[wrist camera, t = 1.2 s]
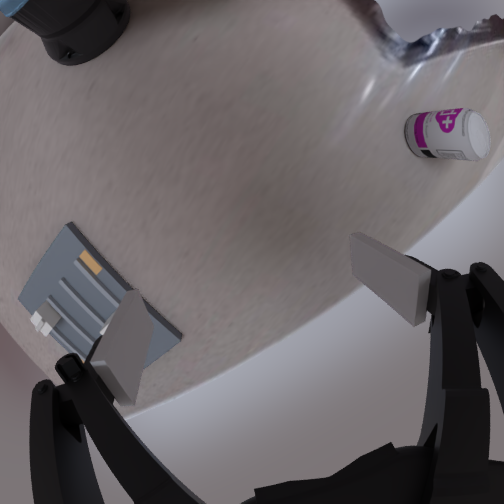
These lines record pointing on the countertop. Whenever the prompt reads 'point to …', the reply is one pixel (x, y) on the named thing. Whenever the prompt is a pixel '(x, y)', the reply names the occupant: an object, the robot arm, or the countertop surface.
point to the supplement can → (449, 134)
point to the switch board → (85, 296)
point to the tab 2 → (106, 324)
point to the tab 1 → (45, 318)
